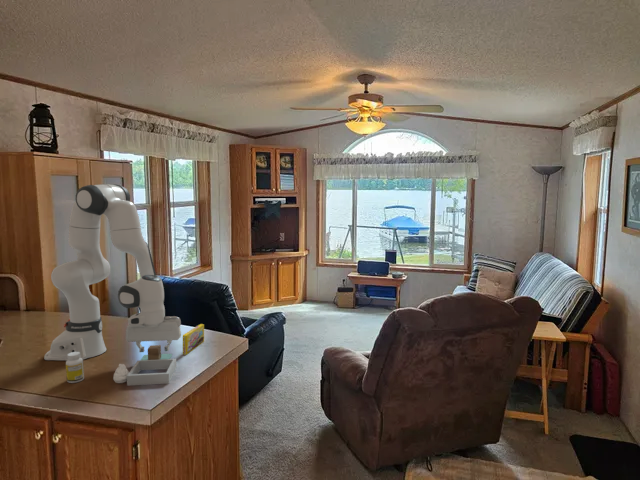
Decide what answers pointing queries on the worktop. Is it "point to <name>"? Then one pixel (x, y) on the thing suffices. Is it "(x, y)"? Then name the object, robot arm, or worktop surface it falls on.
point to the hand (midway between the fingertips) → (154, 351)
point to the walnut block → (154, 352)
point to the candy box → (193, 339)
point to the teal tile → (163, 356)
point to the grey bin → (151, 378)
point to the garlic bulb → (120, 374)
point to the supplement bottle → (74, 367)
